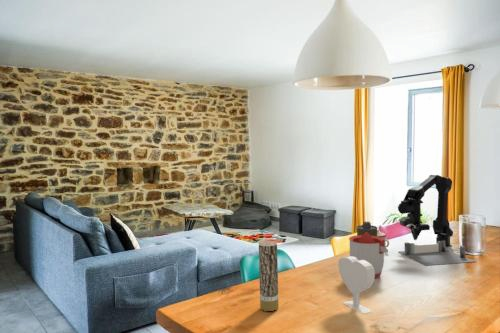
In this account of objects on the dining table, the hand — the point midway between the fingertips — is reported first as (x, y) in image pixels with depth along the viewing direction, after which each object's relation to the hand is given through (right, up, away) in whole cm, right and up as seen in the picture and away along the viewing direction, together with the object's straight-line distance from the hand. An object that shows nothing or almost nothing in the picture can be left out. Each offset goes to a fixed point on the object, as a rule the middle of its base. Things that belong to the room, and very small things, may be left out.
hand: (415, 239), depth 221 cm
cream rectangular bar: (+4, -6, -4) cm, 8 cm away
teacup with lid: (-18, -7, +5) cm, 20 cm away
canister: (-30, -8, -13) cm, 34 cm away
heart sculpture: (-51, -12, -72) cm, 89 cm away
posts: (+6, -7, -9) cm, 13 cm away
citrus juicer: (-37, -10, -37) cm, 53 cm away
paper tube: (-84, -13, -72) cm, 111 cm away
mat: (+6, -7, -10) cm, 14 cm away
